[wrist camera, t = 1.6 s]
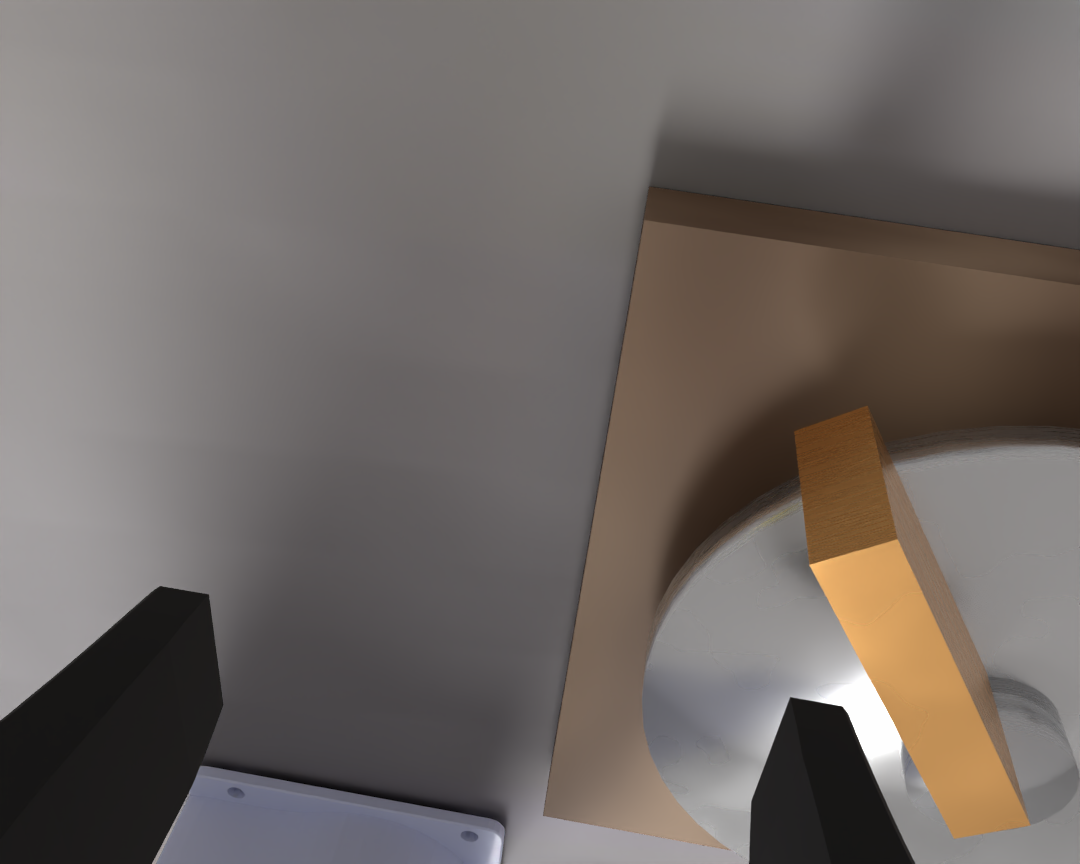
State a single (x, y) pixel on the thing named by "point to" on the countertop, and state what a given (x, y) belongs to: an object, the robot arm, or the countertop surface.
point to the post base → (776, 418)
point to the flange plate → (809, 656)
